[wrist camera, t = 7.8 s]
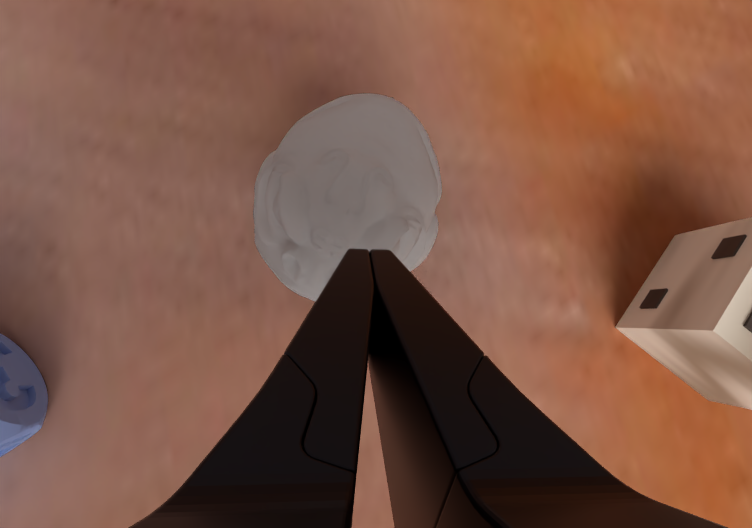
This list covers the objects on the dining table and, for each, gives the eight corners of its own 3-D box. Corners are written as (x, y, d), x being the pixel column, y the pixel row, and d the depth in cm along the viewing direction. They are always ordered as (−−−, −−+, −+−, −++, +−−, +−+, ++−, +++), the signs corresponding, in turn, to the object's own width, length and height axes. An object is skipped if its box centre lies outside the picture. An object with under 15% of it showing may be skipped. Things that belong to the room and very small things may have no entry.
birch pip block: (762, 305, 20) (906, 301, 15) (706, 400, 20) (839, 428, 15) (671, 233, 20) (787, 206, 15) (611, 325, 19) (713, 328, 14)
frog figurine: (237, 274, 18) (184, 247, 11) (308, 116, 19) (300, 0, 12) (383, 333, 18) (420, 342, 11) (445, 174, 19) (513, 94, 12)
